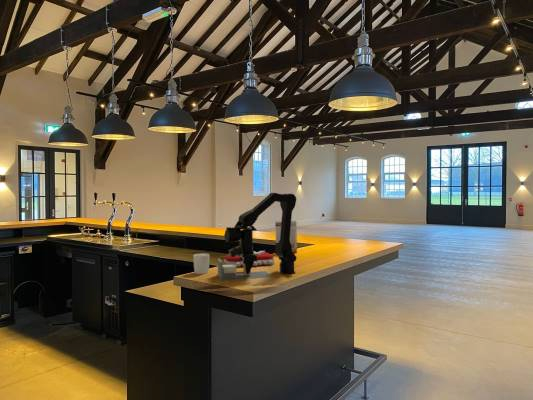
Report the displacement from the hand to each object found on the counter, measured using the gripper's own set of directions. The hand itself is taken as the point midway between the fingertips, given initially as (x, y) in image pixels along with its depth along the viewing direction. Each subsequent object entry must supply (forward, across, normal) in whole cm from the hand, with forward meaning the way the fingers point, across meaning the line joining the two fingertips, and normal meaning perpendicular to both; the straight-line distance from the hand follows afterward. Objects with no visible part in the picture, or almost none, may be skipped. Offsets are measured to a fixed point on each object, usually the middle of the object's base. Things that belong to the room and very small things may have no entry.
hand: (247, 273), depth 189 cm
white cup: (+2, -14, -20) cm, 25 cm away
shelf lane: (+2, 0, -1) cm, 3 cm away
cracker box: (+2, -70, +40) cm, 80 cm away
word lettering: (+3, -34, +8) cm, 35 cm away
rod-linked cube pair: (+1, 0, -5) cm, 5 cm away
